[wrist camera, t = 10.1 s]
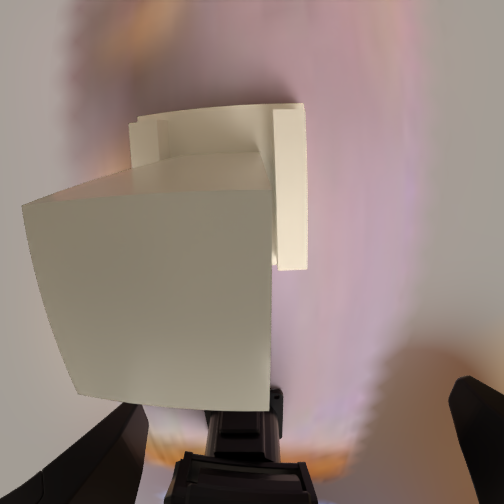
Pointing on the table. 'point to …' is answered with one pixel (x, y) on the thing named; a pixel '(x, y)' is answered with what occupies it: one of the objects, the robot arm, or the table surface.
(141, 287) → the clay bar
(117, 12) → the table surface
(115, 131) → the table surface
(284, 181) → the rack
